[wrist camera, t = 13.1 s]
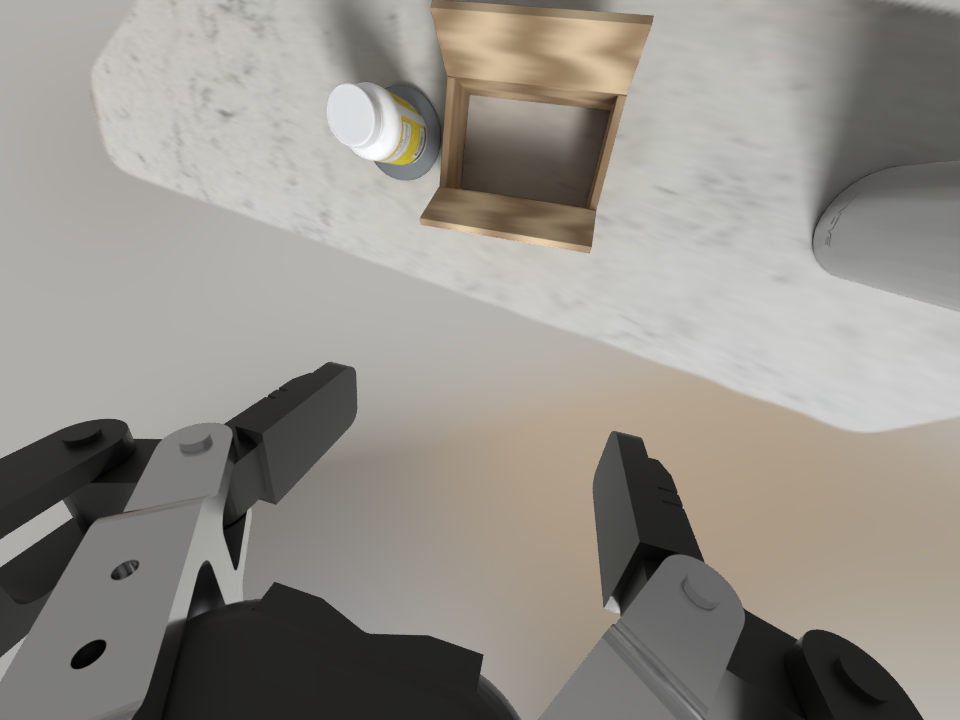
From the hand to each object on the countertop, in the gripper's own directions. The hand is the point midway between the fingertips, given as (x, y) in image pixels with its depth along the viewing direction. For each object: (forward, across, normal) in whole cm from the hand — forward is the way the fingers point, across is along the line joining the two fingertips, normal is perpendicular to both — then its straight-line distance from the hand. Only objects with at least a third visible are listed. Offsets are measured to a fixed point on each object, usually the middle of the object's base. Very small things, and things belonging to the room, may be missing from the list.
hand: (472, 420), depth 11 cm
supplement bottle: (+30, +16, -10) cm, 35 cm away
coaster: (+30, +16, -10) cm, 35 cm away
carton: (+30, +3, -10) cm, 32 cm away
